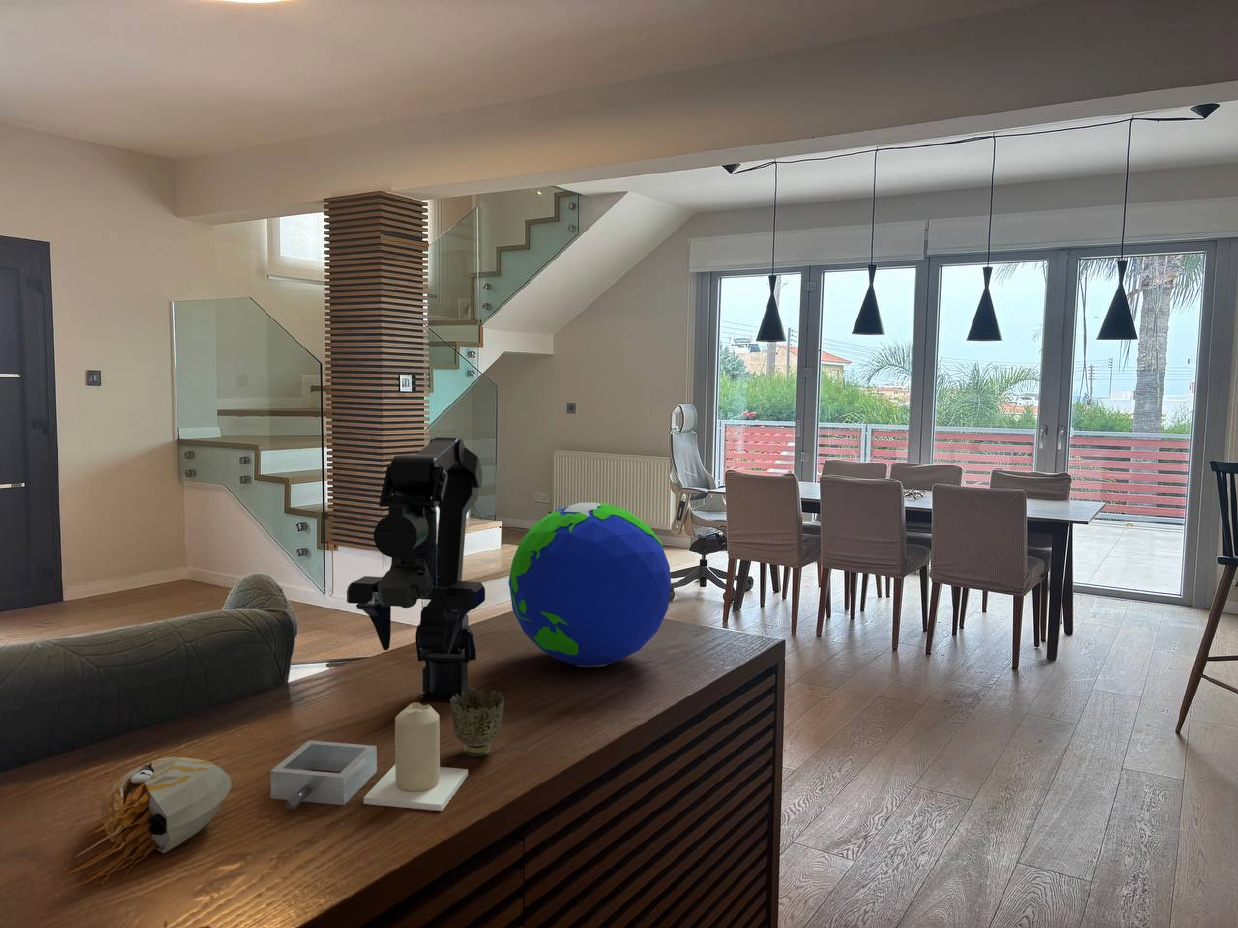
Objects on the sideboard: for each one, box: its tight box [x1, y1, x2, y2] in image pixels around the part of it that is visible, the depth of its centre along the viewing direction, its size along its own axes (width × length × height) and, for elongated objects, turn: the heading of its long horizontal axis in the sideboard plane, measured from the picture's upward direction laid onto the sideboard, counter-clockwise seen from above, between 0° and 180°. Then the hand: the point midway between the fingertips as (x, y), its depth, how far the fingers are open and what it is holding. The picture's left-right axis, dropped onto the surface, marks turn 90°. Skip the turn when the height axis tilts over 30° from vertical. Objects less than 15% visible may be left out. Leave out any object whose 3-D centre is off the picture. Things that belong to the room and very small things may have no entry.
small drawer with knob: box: [269, 739, 378, 811], centre depth 113 cm, size 10×14×4 cm
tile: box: [363, 764, 469, 812], centre depth 114 cm, size 10×10×1 cm
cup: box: [449, 688, 505, 758], centre depth 125 cm, size 8×7×8 cm
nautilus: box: [66, 756, 232, 888], centre depth 99 cm, size 8×22×15 cm
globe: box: [508, 502, 672, 668], centre depth 164 cm, size 30×30×30 cm
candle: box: [394, 701, 441, 792], centre depth 114 cm, size 6×6×10 cm
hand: (416, 651), depth 128 cm, fingers open, 9 cm apart
